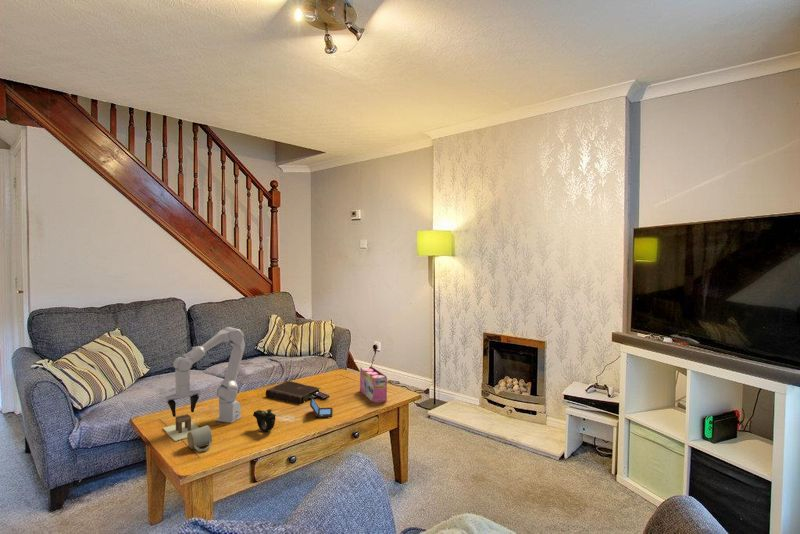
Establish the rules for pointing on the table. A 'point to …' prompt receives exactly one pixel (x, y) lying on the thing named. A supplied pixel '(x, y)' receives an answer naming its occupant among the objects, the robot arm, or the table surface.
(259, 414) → the controller
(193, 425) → the mat
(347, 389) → the table surface
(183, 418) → the stool
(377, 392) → the gum box
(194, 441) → the ceramic mug
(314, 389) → the black media player box
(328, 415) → the handheld game console
